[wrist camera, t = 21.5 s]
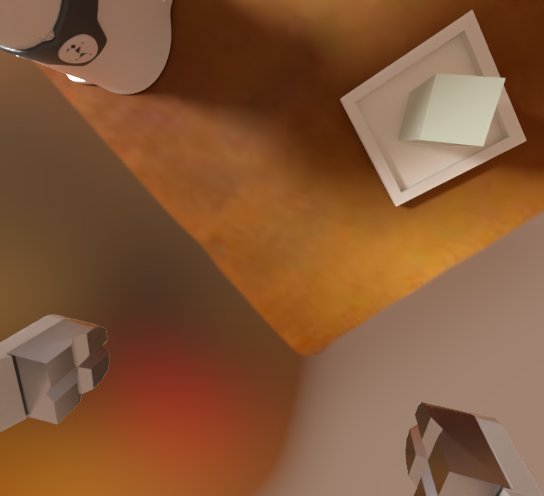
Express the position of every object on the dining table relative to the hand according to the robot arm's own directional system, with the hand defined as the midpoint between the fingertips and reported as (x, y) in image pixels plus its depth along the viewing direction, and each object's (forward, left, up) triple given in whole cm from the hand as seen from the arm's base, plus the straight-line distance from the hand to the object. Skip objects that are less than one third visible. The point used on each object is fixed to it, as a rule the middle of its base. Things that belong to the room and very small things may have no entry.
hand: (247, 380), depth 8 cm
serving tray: (-1, +14, -34) cm, 37 cm away
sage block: (-1, +14, -33) cm, 36 cm away
